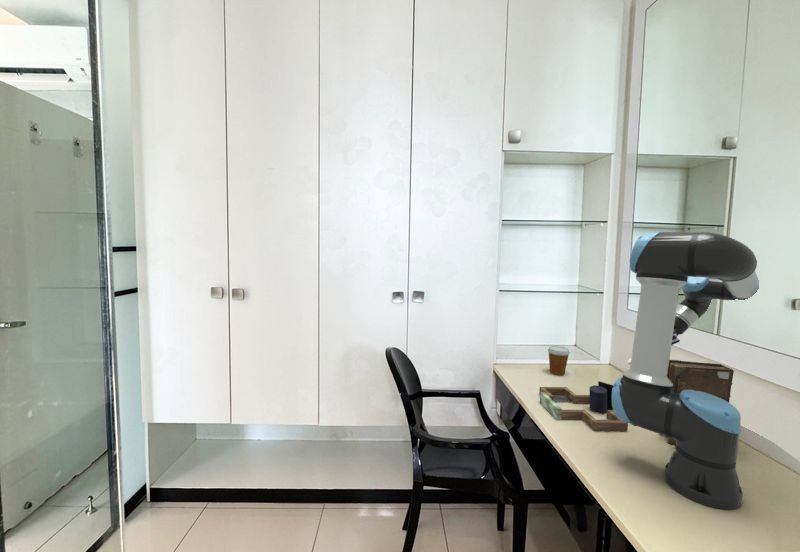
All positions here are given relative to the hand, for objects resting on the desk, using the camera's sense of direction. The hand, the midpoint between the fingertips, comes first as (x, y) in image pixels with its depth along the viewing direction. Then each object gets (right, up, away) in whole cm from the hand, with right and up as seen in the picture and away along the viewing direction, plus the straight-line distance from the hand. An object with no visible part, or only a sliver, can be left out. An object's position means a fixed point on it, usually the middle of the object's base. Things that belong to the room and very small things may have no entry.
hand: (630, 364), depth 133 cm
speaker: (-11, -17, +1) cm, 20 cm away
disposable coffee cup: (-10, -14, +39) cm, 42 cm away
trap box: (-19, -17, +1) cm, 25 cm away
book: (+7, -20, -19) cm, 29 cm away
